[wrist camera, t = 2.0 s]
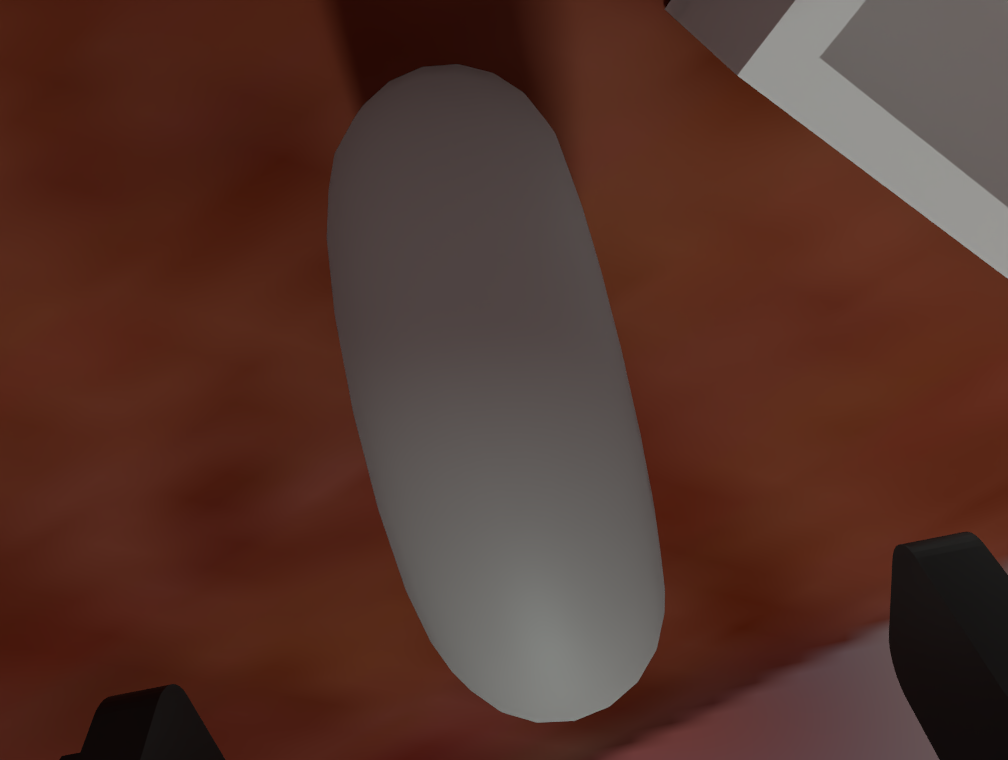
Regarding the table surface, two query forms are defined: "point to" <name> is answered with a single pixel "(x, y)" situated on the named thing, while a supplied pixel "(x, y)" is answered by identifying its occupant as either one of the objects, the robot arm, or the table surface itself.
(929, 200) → the walled tray
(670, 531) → the table surface
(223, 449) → the table surface
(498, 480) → the donut
